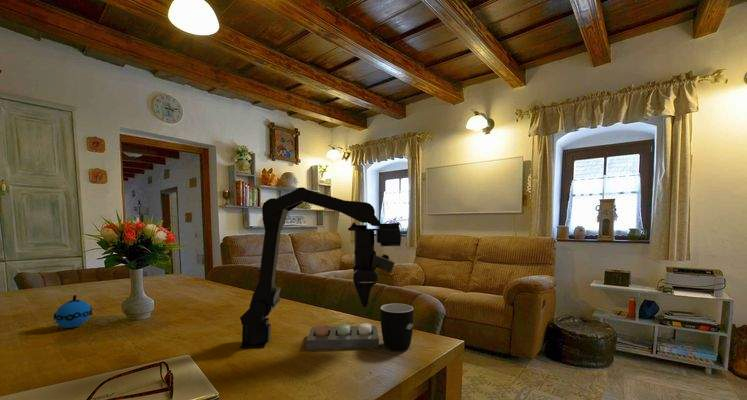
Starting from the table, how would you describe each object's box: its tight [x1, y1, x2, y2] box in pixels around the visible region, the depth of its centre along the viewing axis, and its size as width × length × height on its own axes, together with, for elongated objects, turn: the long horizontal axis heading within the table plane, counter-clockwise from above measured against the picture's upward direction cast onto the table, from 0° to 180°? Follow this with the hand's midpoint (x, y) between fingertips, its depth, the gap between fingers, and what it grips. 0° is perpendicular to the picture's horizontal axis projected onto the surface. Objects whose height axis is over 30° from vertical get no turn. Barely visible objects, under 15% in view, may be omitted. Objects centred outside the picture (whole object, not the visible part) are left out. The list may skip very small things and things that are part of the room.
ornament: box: [53, 294, 93, 329], centre depth 98 cm, size 9×9×10 cm
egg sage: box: [336, 323, 351, 336], centre depth 86 cm, size 4×4×3 cm
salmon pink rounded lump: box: [314, 323, 330, 336], centre depth 86 cm, size 4×4×3 cm
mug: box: [379, 303, 415, 352], centre depth 84 cm, size 12×9×10 cm
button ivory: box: [358, 323, 373, 335], centre depth 87 cm, size 4×4×3 cm
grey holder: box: [305, 325, 380, 351], centre depth 86 cm, size 10×19×2 cm, turn 94°
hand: (364, 302), depth 87 cm, fingers open, 9 cm apart
